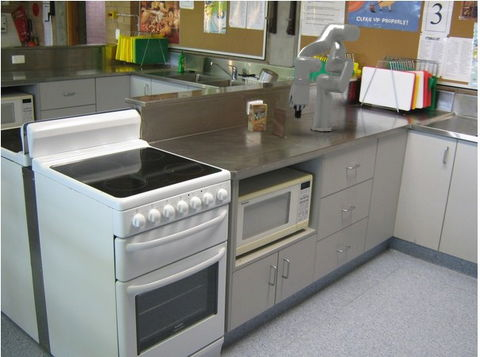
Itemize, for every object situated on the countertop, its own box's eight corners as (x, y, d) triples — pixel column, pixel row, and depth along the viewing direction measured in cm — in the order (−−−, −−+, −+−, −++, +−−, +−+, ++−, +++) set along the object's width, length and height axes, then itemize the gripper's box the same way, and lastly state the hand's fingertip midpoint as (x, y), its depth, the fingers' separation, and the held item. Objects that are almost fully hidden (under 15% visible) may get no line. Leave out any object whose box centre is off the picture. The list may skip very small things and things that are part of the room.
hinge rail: (276, 135, 276) (276, 132, 276) (287, 139, 266) (287, 137, 266) (274, 135, 275) (274, 132, 275) (285, 139, 266) (285, 137, 266)
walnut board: (274, 133, 274) (276, 106, 270) (284, 137, 266) (286, 110, 262) (272, 133, 274) (274, 106, 270) (281, 137, 265) (284, 110, 261)
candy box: (251, 133, 275) (253, 104, 270) (247, 132, 278) (249, 103, 274) (265, 133, 279) (267, 104, 275) (261, 131, 283) (263, 103, 278)
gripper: (309, 81, 273) (305, 116, 278) (284, 81, 267) (281, 116, 272) (317, 83, 267) (313, 119, 272) (292, 83, 260) (289, 119, 265)
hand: (297, 117), depth 272 cm, fingers closed
